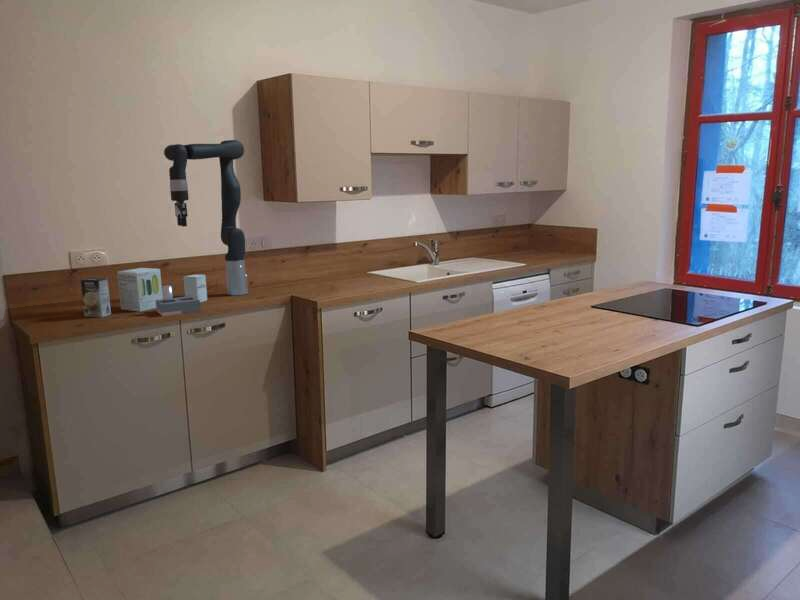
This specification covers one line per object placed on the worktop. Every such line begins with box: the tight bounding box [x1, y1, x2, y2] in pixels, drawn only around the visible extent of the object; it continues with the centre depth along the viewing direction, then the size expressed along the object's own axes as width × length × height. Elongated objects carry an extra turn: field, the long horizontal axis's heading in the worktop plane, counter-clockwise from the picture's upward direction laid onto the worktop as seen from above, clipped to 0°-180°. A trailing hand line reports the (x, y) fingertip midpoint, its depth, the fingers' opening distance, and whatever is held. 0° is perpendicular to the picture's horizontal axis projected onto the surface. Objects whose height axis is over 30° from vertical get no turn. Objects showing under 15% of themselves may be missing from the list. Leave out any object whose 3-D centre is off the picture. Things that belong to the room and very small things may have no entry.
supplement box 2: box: [183, 274, 208, 303], centre depth 299 cm, size 7×7×13 cm
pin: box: [162, 285, 174, 303], centre depth 275 cm, size 4×4×10 cm
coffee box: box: [80, 277, 112, 318], centre depth 272 cm, size 9×6×16 cm
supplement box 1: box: [117, 267, 163, 312], centre depth 287 cm, size 13×13×18 cm
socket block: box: [155, 296, 202, 317], centre depth 277 cm, size 16×14×5 cm
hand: (182, 226), depth 289 cm, fingers open, 8 cm apart
